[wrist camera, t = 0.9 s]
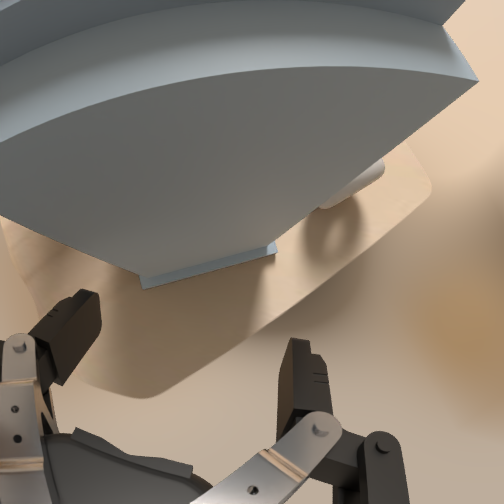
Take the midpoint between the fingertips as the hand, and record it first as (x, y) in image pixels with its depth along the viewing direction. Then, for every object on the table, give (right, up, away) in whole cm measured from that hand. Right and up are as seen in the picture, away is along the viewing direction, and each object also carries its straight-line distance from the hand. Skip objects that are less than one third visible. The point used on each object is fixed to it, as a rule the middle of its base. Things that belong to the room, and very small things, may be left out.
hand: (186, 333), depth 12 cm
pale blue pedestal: (-4, +7, +25) cm, 26 cm away
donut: (+13, +11, +28) cm, 33 cm away
